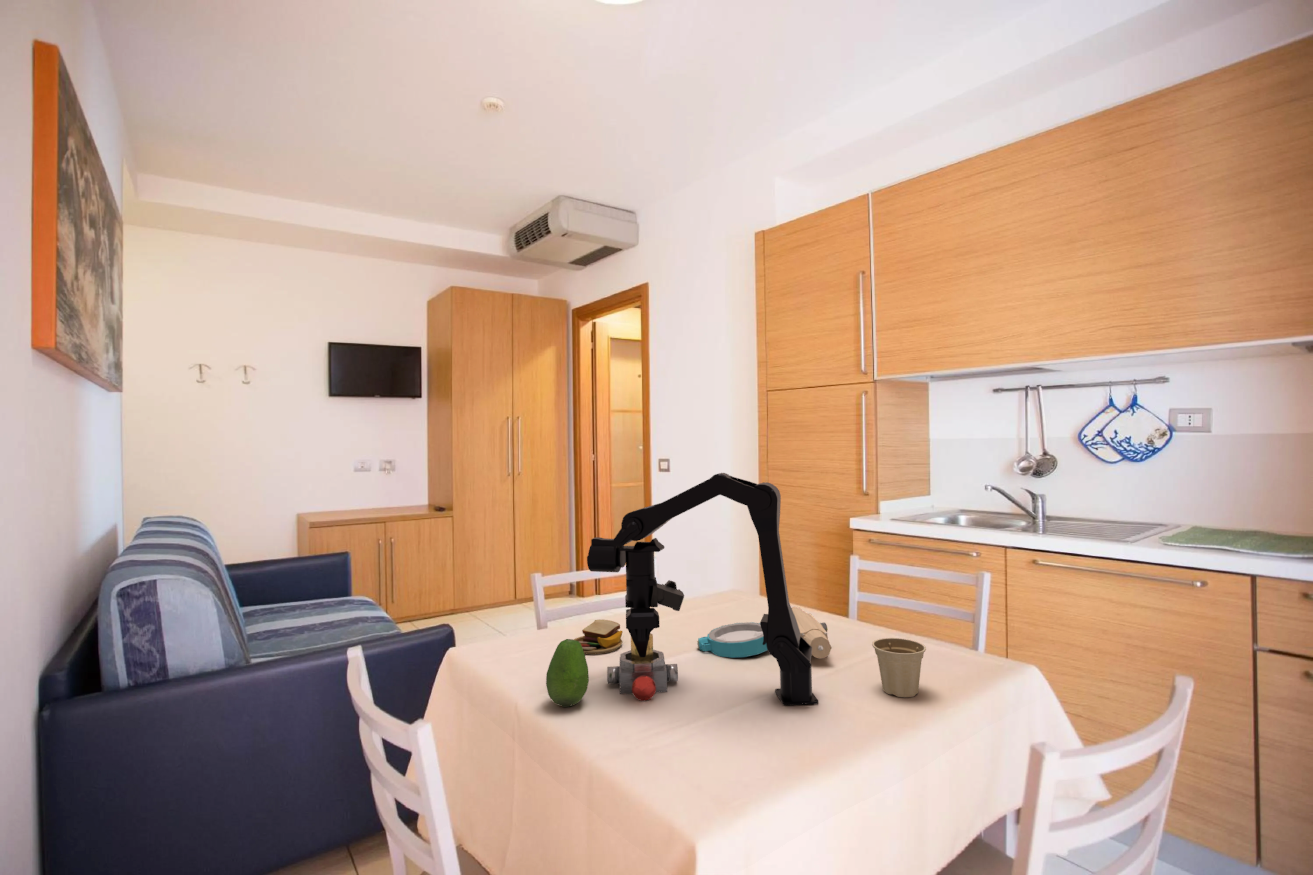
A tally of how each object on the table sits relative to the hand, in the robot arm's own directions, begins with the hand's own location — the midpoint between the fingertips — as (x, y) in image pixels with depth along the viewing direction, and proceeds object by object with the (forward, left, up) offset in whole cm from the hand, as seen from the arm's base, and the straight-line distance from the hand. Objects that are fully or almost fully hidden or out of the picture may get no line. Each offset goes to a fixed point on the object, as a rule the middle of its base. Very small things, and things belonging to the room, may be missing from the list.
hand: (642, 652), depth 122 cm
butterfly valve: (+18, -28, -7) cm, 34 cm away
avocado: (-8, +14, -6) cm, 17 cm away
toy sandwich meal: (+25, +10, -7) cm, 28 cm away
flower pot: (-9, -48, -6) cm, 49 cm away
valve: (-2, 0, -6) cm, 7 cm away
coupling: (0, 0, -2) cm, 2 cm away
